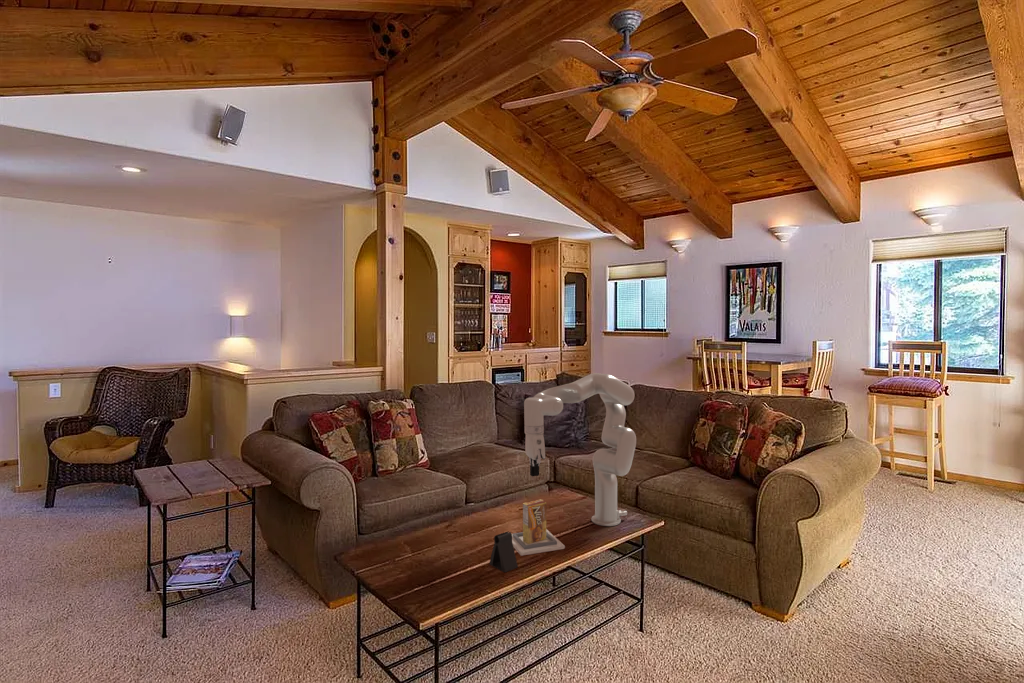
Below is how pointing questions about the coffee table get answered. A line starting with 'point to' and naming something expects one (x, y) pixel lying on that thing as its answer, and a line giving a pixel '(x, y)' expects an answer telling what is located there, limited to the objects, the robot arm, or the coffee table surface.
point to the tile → (536, 544)
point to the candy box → (534, 521)
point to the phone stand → (503, 553)
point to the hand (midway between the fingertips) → (534, 475)
